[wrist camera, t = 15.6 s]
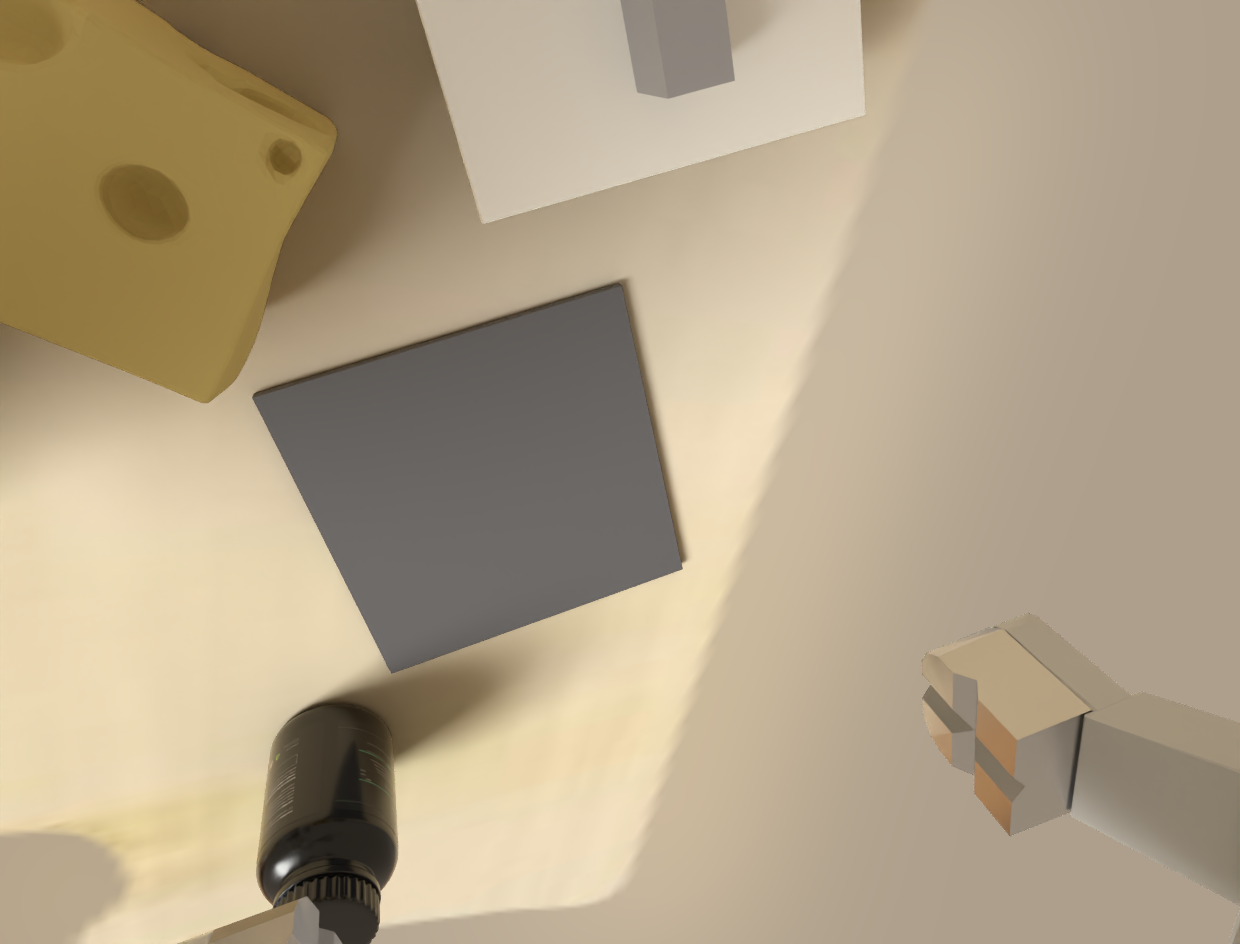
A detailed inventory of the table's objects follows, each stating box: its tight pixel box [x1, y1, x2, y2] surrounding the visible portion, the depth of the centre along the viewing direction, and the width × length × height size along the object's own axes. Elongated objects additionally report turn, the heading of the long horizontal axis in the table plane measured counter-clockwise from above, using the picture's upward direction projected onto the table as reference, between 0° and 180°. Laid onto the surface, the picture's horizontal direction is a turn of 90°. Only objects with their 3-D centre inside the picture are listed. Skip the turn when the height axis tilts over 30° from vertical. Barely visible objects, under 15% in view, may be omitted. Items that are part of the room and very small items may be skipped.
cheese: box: [0, 0, 337, 403], centre depth 28 cm, size 10×11×10 cm
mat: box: [253, 283, 683, 674], centre depth 43 cm, size 18×18×1 cm
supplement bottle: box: [256, 704, 398, 944], centre depth 43 cm, size 7×7×12 cm
